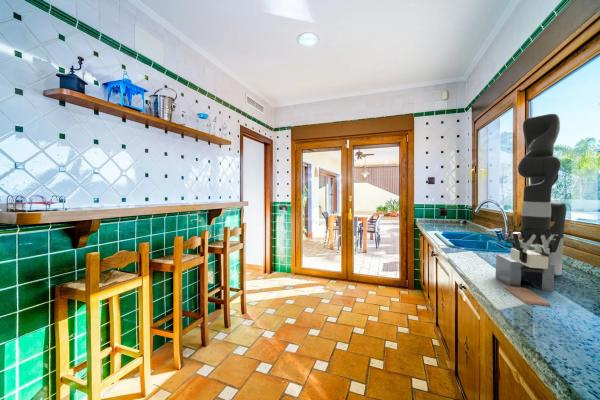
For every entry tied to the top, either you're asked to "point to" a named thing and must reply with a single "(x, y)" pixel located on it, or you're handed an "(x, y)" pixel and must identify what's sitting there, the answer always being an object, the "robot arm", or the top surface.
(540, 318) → the top surface
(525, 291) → the tile
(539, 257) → the cream box
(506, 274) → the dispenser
